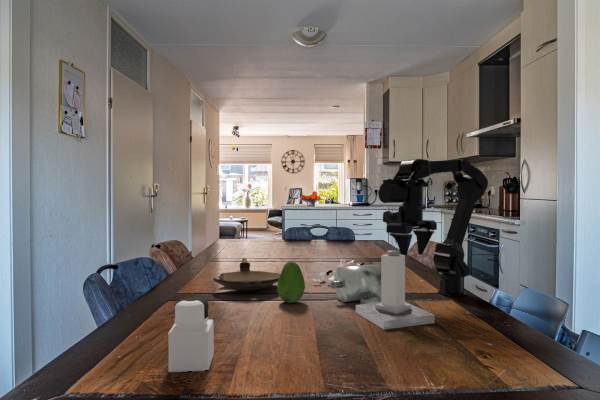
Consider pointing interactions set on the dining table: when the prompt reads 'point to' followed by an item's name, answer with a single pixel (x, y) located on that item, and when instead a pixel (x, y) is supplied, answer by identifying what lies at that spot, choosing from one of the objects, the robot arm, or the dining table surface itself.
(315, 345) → the dining table surface
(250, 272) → the oil lamp
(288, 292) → the avocado
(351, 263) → the miniature set
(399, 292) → the white pedestal with button
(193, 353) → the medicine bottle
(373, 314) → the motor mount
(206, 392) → the dining table surface
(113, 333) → the dining table surface
